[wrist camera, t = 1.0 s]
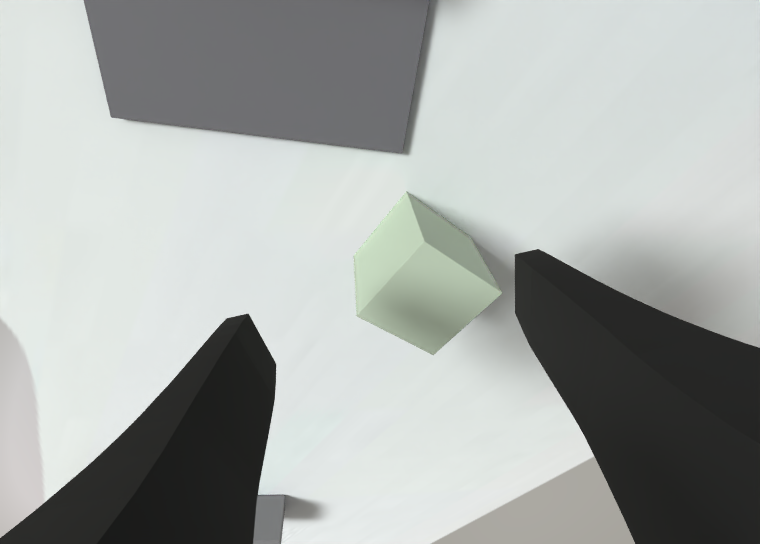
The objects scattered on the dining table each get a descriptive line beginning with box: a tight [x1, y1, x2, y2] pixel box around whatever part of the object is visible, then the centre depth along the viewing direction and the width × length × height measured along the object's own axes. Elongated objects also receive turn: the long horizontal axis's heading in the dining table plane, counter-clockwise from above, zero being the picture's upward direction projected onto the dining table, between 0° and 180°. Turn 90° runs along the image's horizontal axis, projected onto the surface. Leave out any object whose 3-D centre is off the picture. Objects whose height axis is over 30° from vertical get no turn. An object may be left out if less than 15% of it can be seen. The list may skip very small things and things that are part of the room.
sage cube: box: [354, 191, 502, 355], centre depth 18 cm, size 4×4×5 cm
